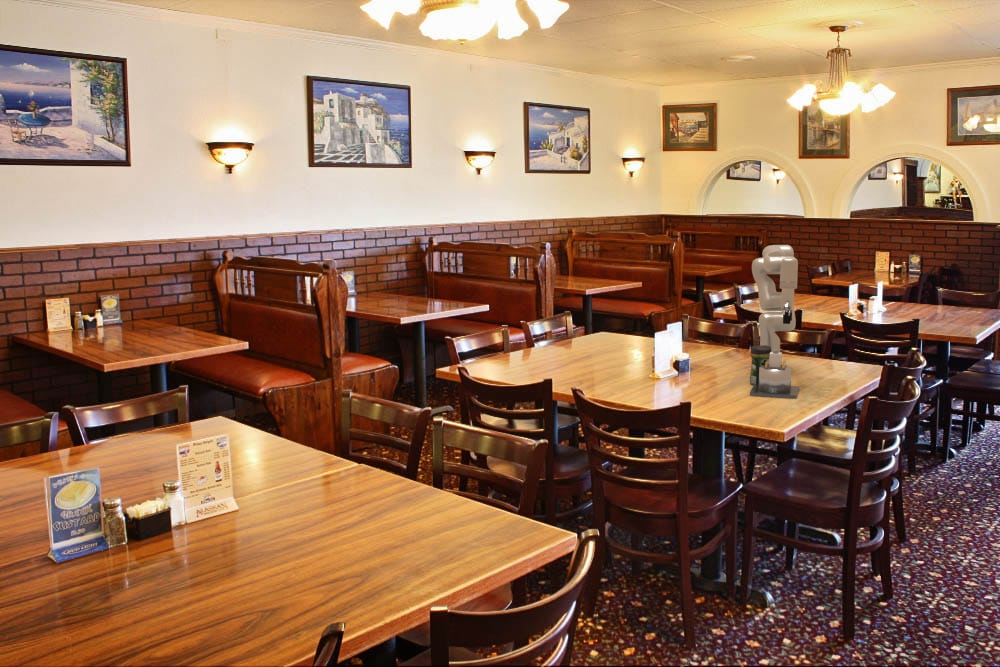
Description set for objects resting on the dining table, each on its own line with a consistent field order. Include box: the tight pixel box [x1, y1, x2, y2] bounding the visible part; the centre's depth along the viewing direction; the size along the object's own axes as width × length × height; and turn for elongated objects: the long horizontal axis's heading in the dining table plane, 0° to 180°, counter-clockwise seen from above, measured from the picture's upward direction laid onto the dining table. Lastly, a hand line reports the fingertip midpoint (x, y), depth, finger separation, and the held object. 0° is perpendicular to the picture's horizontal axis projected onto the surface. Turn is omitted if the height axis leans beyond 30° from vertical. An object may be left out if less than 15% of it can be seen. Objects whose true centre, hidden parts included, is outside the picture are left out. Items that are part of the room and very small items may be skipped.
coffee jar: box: [749, 345, 772, 386], centre depth 418 cm, size 10×8×19 cm
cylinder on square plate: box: [749, 360, 800, 400], centre depth 400 cm, size 20×20×14 cm
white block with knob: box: [769, 349, 783, 367], centre depth 399 cm, size 5×5×8 cm
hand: (787, 322), depth 404 cm, fingers open, 9 cm apart
